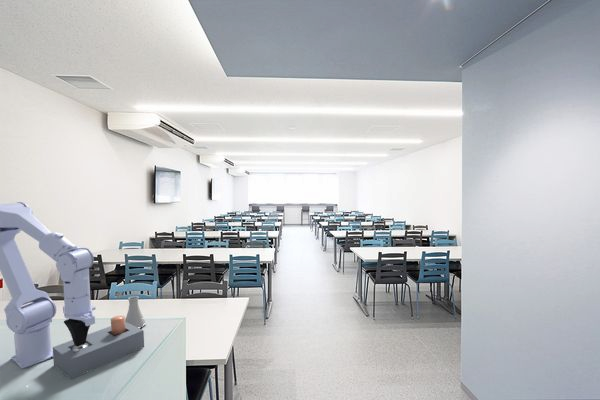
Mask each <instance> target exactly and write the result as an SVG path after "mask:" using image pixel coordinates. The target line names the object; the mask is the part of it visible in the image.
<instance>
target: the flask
mask: <svg viewBox="0 0 600 400" xmlns="http://www.w3.org/2000/svg"><path fill="white" fill-rule="evenodd" d="M139 298H140V297H139V295H138V296H137V295H134V296H128V298H127V299H128V302H129V305H128V309H127V314H126V317H125V322H127V323H129V324H131V325H133V326H136V327H142V326H143V324H144V323H145V322H146V320H145V318H144V316H143V314H142V312H141V310H140V307H139V301H138V300H139ZM142 318H144V319H142Z"/></svg>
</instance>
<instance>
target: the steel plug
mask: <svg viewBox="0 0 600 400" xmlns="http://www.w3.org/2000/svg"><path fill="white" fill-rule="evenodd" d="M86 347H89V346H88V344H87V343H85V344H83V345H80V346H78V347H77V346H74V347H73V348H72V350H73V351H74V352H76V351H78V350H81V349H83V348H86Z"/></svg>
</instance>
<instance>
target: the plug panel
mask: <svg viewBox="0 0 600 400" xmlns="http://www.w3.org/2000/svg"><path fill="white" fill-rule="evenodd" d="M125 331H126V332H124V333H122V334H119V335H117V336H113V335H112V334H111V325H110V326H107V327H105V328H104V327H103V328H101V329H98V330H97V331H94V332H91V333H88V334H87V338H86V343H87V344H88V346H89V347H86V348H83V349H81V350H78V351H76V352H74V351H73V350H72V348H73V347H74V346H75V344H74V342H73V339H72V340H69V341H66V342H63V343H61V344H58V345H55V346H52V350H53V357H52V358H53V359H52V360H53V366H54V367H55V368H56V369H58V370H59V371H60V372H61V373H63V374H64V375H65V376H66V377H68V379H70V380H73V379H75V378H77V377H79V376H82V375H84V374H86V373H88V372H87V371H89V372H90V370H91V371H93V370H95V369H97V368H99V367H102V366H105V365H106V364H109V363H111V362H114V361H116V360H117V359H119V358H122V357H124V356H126V355H129V354H130V353H133V352H136V351H138V350H140V349H142V348H144V347H145V334H144V331H145V330H143V328H142V329H140V328H138V327H136V326H133V325H131V324H129V323H127V322H125ZM92 369H93V370H92ZM85 372H86V373H85ZM83 373H84V374H83ZM81 374H82V375H81Z"/></svg>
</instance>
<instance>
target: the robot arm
mask: <svg viewBox="0 0 600 400" xmlns="http://www.w3.org/2000/svg"><path fill="white" fill-rule="evenodd" d="M33 214H34V213H33V209H32V208H31V207H30V206H29V205H28V204H27V203H25V202H22V201H19V202H13V203H12V202H10V203H9V202H8V203H0V273H1V275H2V279H3V280H4V283H5V285H6V287H7V290H8V292H9V294H10V296H11V299H10V301H9V302H8V303H7V304H6V306H5V308H4V309H3V310H4V314H5V316H6V317H5V320H6V321H5V322H6V326H7V327H8V328H9V329H8V330H10V331H12V333H14V335H13V336H14V338H13V339H14V352H15V353H14V355H11V357H10V359H12V361H13V362H14V363H15V364H16V365H18V366H19V367H20V369H26V368H29V367H31V366H33V365H36V364H39V363H42V362H44V361H46V360H49V359H52V358H53V351H52V350H53V349H52V339H51V338H52V337H51V327H50V325H51V323H52V322H53V319H54V317H55V316H56V314H57V305H56V303H55V302H54V301H53V300H52V298H51V297H50V296H49V294H48V292H46V291H43V290H40V289H37V288H36V286H35V284H34V281H33V279H32V276H31V274H30V272H29V269H28V268H27V265H26V263H25V260H24V258H23V256H22V254H21V251H20V249H19V248H18V245H17V242H16V241H15V238H16V236H17V235H18V234H19V233H21V232H23V233H25V234H26V235H28V236H29V237H31V238H32V239H34V240H36V241H37V242H38V248H39V250H40V251H42V252H43V253H44V254H46V255H47V256H48V257H49V258H50V259H52V260H53V261H54V262H55V268H56V270H57V271H58V273H59V275H60V279H61V281H62V285H63V298H64V299H63V300H64V305H63V306H62V313H63V315H64V316H63V317H64V319H65V320H64V321H63V323H64V325H65V326H66V327H67V328H68V329H67V330H68V331H69V333H70V336H71V339H72V340H73V342H74V344H75V346H77V347H78V346H80V345H83V344H85V343H86V338H87V335H88V334H89V333H88V332H89V329H90V327H91V326H92V325H94V324H96V316H95V315H94V314H93V311H95V310H97V309H96V306H95V305H91V303H92V302H91V287H90V286H91V285H90V268H91V267H92V266H93V264H94V261H95V258H94V255H93V252H91V250H90V249H89V248H88V247H80V246H77V245H75V244H74V243H73V242H72V241H70V240H69V239H68V238H67V237H65V235H64V234H63V233H61V232H57V231H56V232H55V231H54V232H52V231H50V230H49V229H48V227H46V226H45V225H44V224H43V223H42V222H41V221H39V220H38V219H37V217H35V216H34V215H33ZM51 349H52V350H51ZM51 357H52V358H51Z"/></svg>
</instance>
